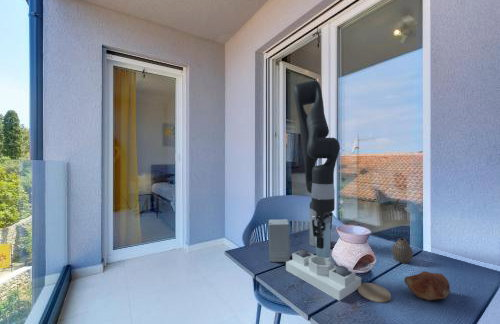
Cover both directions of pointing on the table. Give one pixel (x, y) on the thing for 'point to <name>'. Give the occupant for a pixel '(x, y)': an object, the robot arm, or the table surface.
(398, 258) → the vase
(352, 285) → the housing
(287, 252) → the skincare box
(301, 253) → the plunger
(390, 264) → the table surface
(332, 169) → the robot arm
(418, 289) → the fossil
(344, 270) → the plunger
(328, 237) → the cylinder
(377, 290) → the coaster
